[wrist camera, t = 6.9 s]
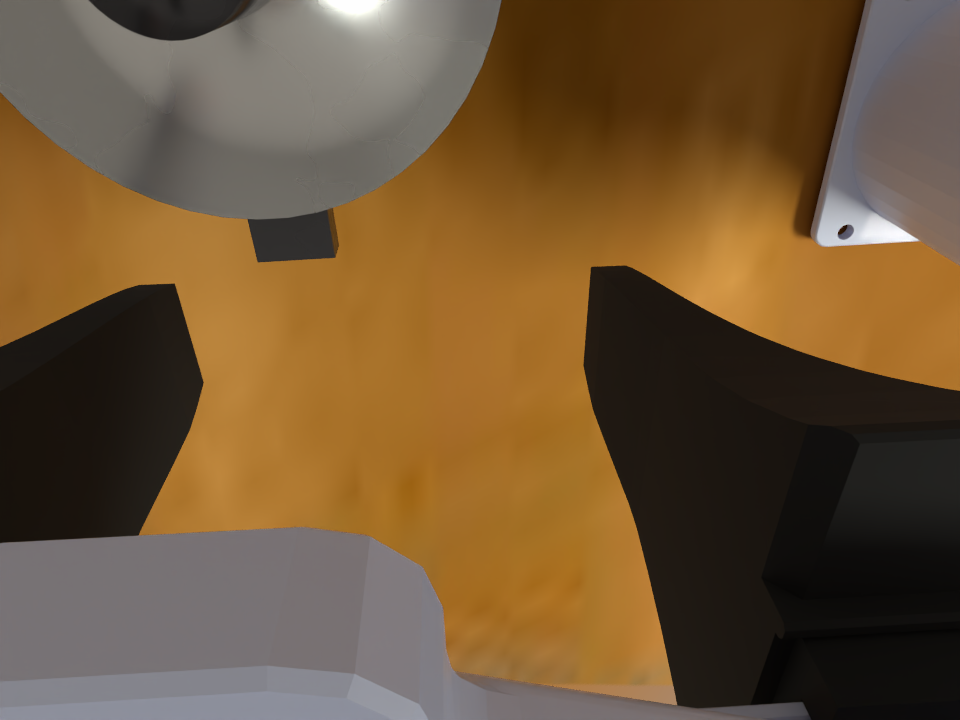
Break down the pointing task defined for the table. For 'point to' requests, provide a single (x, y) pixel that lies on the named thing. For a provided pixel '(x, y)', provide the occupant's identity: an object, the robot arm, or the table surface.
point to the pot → (295, 237)
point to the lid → (244, 92)
